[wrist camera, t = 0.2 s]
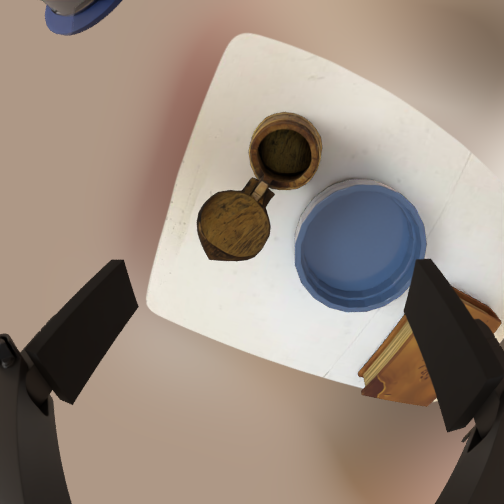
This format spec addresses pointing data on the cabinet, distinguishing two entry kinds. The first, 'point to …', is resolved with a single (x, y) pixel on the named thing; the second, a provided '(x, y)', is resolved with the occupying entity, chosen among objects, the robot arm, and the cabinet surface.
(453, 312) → the robot arm
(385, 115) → the cabinet surface
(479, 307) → the diary
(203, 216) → the wooden mug
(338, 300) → the bowl
